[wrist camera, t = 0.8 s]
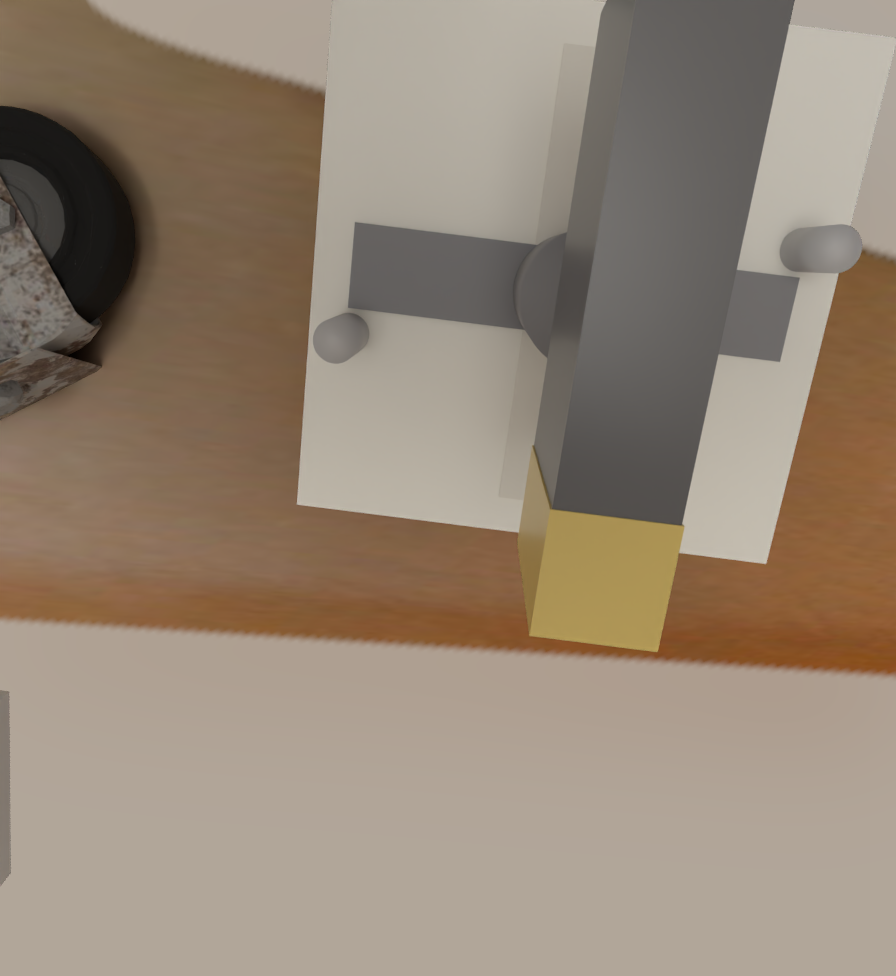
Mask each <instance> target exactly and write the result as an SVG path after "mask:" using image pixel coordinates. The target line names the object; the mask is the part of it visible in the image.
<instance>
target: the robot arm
mask: <svg viewBox="0 0 896 976" xmlns="http://www.w3.org/2000/svg"><path fill="white" fill-rule="evenodd" d="M9 735H10V727H9V692H8V691H1V690H0V886H1V885H2V884H3V882H4V881H5V880H6V878H7V877H8V876H9V874H10V873H11V861H10V860H11V858H10V856H11V855H10V739H9V738H10V736H9Z"/></svg>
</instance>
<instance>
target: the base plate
mask: <svg viewBox="0 0 896 976" xmlns="http://www.w3.org/2000/svg"><path fill="white" fill-rule="evenodd" d="M605 3H606V2H604V1H596V0H332V9H331V23H330V37H329V53H328V67H327V80H326V94H325V109H324V123H323V138H322V152H321V166H320V181H319V195H318V210H317V224H316V238H315V253H314V267H313V282H312V296H311V310H310V325H309V339H308V353H307V368H306V382H305V397H304V411H303V425H302V440H301V454H300V469H299V483H298V497H297V505H304V506H312V507H320V508H328V509H336V510H344V511H352V512H360V513H368V514H376V515H384V516H391V517H399V518H407V519H415V520H423V521H431V522H439V523H447V524H455V525H463V526H471V527H478V528H486V529H494V530H502V531H510V532H518V533H519V527H520V521H521V514H522V508H523V501H524V495H525V488H526V482H527V475H528V469H529V462H530V456H531V449H532V445H534V442H535V436H536V429H537V423H538V416H539V410H540V403H541V397H542V390H543V384H544V378H545V371H546V365H547V358H548V352H549V345H550V339H551V332H552V326H553V319H554V313H555V306H556V300H557V293H558V287H559V280H560V274H561V267H562V261H563V255H564V248H565V242H566V235H567V229H568V222H569V216H570V209H571V203H572V196H573V190H574V183H575V177H576V170H577V164H578V157H579V151H580V144H581V138H582V132H583V125H584V119H585V112H586V106H587V99H588V93H589V86H590V80H591V73H592V67H593V60H594V54H595V47H596V41H597V34H598V28H599V21H600V15H601V12H602V9H603V7H604V5H605ZM895 47H896V38H895V37H887V36H879V35H871V34H863V33H855V32H847V31H839V30H830V29H823V28H815V27H806V26H798V25H790V24H789V29H788V33H787V38H786V43H785V47H784V52H783V57H782V61H781V66H780V70H779V75H778V80H777V84H776V89H775V94H774V98H773V103H772V108H771V112H770V117H769V122H768V126H767V131H766V136H765V140H764V145H763V150H762V154H761V159H760V164H759V168H758V173H757V178H756V182H755V187H754V192H753V196H752V201H751V206H750V210H749V215H748V220H747V224H746V229H745V234H744V238H743V243H742V247H741V252H740V257H739V261H738V266H737V271H736V275H735V280H734V285H733V289H732V294H731V299H730V303H729V308H728V313H727V317H726V322H725V327H724V331H723V336H722V341H721V345H720V350H719V355H718V359H717V364H716V369H715V373H714V378H713V383H712V387H711V392H710V397H709V401H708V406H707V411H706V415H705V420H704V424H703V429H702V434H701V438H700V443H699V448H698V452H697V457H696V462H695V466H694V471H693V476H692V480H691V485H690V490H689V494H688V499H687V504H686V508H685V513H684V518H683V522H682V524H683V525H684V526H685V528H684V532H683V537H682V541H681V546H680V551H679V553H684V554H692V555H700V556H708V557H716V558H724V559H732V560H739V561H747V562H755V563H763V564H766V563H767V559H768V555H769V551H770V547H771V543H772V539H773V535H774V531H775V527H776V523H777V519H778V515H779V511H780V507H781V503H782V499H783V495H784V491H785V487H786V483H787V479H788V475H789V471H790V467H791V463H792V459H793V455H794V451H795V447H796V443H797V439H798V435H799V431H800V427H801V423H802V419H803V415H804V411H805V407H806V403H807V399H808V395H809V391H810V387H811V383H812V379H813V375H814V371H815V367H816V363H817V359H818V355H819V351H820V347H821V343H822V339H823V335H824V331H825V327H826V323H827V319H828V315H829V311H830V307H831V303H832V299H833V295H834V291H835V287H836V283H837V279H838V275H839V273H841V272H844V271H846V270H848V269H850V268H851V267H852V266H853V265H854V264H855V263H856V262H857V261H858V259H859V257H860V255H861V251H862V240H861V237H860V235H859V233H858V232H857V231H856V230H855V229H854V228H853V227H851V223H852V219H853V215H854V210H855V207H856V203H857V199H858V195H859V191H860V187H861V182H862V179H863V174H864V171H865V166H866V162H867V159H868V155H869V150H870V146H871V143H872V138H873V134H874V131H875V126H876V122H877V119H878V115H879V110H880V107H881V103H882V98H883V94H884V90H885V86H886V83H887V78H888V75H889V71H890V66H891V62H892V58H893V55H894V51H895Z"/></svg>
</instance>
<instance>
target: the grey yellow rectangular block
mask: <svg viewBox="0 0 896 976" xmlns="http://www.w3.org/2000/svg"><path fill="white" fill-rule="evenodd" d="M794 1H795V0H607V1H606V3H605V5H604V7H603V9H602V12H601V15H600V21H599V28H598V34H597V41H596V47H595V54H594V60H593V67H592V73H591V80H590V86H589V93H588V99H587V106H586V112H585V119H584V125H583V132H582V138H581V144H580V151H579V157H578V164H577V170H576V177H575V183H574V190H573V196H572V203H571V209H570V216H569V222H568V229H567V235H566V242H565V248H564V255H563V261H562V267H561V274H560V280H559V287H558V293H557V300H556V306H555V313H554V319H553V326H552V332H551V339H550V345H549V352H548V358H547V365H546V371H545V378H544V384H543V390H542V397H541V403H540V410H539V416H538V423H537V429H536V436H535V442H534V445H532V449H531V456H530V462H529V469H528V475H527V482H526V488H525V495H524V501H523V508H522V514H521V521H520V527H519V534H518V540H517V545H518V553H519V561H520V568H521V576H522V584H523V591H524V599H525V607H526V614H527V622H528V629H529V636H535V637H543V638H551V639H558V640H566V641H574V642H582V643H590V644H598V645H606V646H614V647H621V648H629V649H637V650H645V651H653V652H658V648H659V643H660V639H661V634H662V629H663V625H664V620H665V616H666V611H667V606H668V602H669V597H670V592H671V588H672V583H673V578H674V574H675V569H676V565H677V560H678V555H679V551H680V546H681V541H682V537H683V532H684V528H685V526H684V525H683V524H682V522H683V518H684V513H685V508H686V504H687V499H688V494H689V490H690V485H691V480H692V476H693V471H694V466H695V462H696V457H697V452H698V448H699V443H700V438H701V434H702V429H703V424H704V420H705V415H706V411H707V406H708V401H709V397H710V392H711V387H712V383H713V378H714V373H715V369H716V364H717V359H718V355H719V350H720V345H721V341H722V336H723V331H724V327H725V322H726V317H727V313H728V308H729V303H730V299H731V294H732V289H733V285H734V280H735V275H736V271H737V266H738V261H739V257H740V252H741V247H742V243H743V238H744V234H745V229H746V224H747V220H748V215H749V210H750V206H751V201H752V196H753V192H754V187H755V182H756V178H757V173H758V168H759V164H760V159H761V154H762V150H763V145H764V140H765V136H766V131H767V126H768V122H769V117H770V112H771V108H772V103H773V98H774V94H775V89H776V84H777V80H778V75H779V70H780V66H781V61H782V57H783V52H784V47H785V43H786V38H787V33H788V29H789V24H790V19H791V15H792V10H793V5H794Z"/></svg>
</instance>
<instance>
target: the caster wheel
mask: <svg viewBox="0 0 896 976" xmlns="http://www.w3.org/2000/svg"><path fill="white" fill-rule="evenodd" d="M134 247H135V232H134V223H133V218H132V214H131V209H130V206H129V203H128V200H127V198H126V196H125V194H124V192H123V190H122V188H121V186H120V185H119V183H118V182H117V181H116V179H115V178H114V176H113V175H112V174H111V172H110V171H109V169H108V168H107V167H106V166H105V165H104V164H103V163H102V162H101V160H100V159H99V158H98V157H97V156H96V155H95V154H94V153H93V152H92V151H90V150H89V149H88V148H87V147H86V146H85V145H84V144H83V143H82V142H81V141H80V140H79V139H78V138H77V137H76V136H75V135H74V134H73V133H72V132H70V131H69V130H67V129H66V128H64V127H63V126H61V125H60V124H58V123H57V122H55V121H53V120H51V119H49V118H47V117H45V116H43V115H40V114H38V113H35V112H32V111H28V110H25V109H20V108H15V107H8V106H0V420H1V419H3V418H5V417H7V416H9V415H11V414H13V413H15V412H17V411H19V410H21V409H23V408H25V407H27V406H29V405H31V404H33V403H35V402H37V401H39V400H41V399H42V398H44V397H46V396H48V395H50V394H52V393H54V392H56V391H58V390H60V389H62V388H64V387H66V386H68V385H70V384H72V383H74V382H76V381H78V380H80V379H82V378H84V377H86V376H88V375H90V374H92V373H94V372H96V371H97V370H99V369H100V368H101V366H98V365H94V364H91V363H88V362H84V361H81V360H78V359H74V358H71V357H67V356H68V355H70V354H71V353H73V352H75V351H77V350H79V349H81V348H82V347H84V346H85V345H86V344H87V343H89V342H90V341H91V340H92V338H93V337H94V336H95V334H96V333H97V332H98V330H99V329H100V328H101V326H102V323H101V321H100V319H99V316H100V315H101V314H103V313H104V312H105V311H106V310H107V309H108V308H109V307H110V305H111V304H112V303H113V301H114V300H115V299H116V298H117V296H118V295H119V293H120V291H121V289H122V288H123V286H124V284H125V282H126V280H127V278H128V276H129V272H130V269H131V265H132V261H133V258H134Z"/></svg>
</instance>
